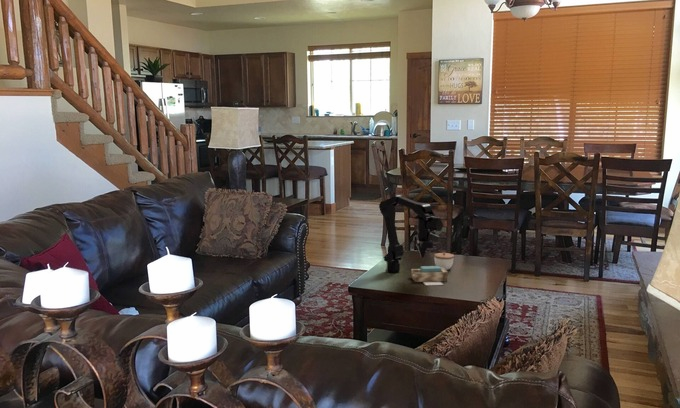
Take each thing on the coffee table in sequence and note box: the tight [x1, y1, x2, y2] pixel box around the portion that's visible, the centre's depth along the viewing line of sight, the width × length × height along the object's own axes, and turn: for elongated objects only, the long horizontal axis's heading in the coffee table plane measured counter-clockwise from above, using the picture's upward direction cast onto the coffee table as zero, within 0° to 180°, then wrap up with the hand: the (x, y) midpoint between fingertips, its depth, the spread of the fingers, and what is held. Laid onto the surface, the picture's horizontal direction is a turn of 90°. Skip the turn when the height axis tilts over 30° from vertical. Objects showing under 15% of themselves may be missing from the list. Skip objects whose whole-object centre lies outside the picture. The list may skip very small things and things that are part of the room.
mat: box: [422, 281, 444, 287], centre depth 287 cm, size 9×5×1 cm, turn 96°
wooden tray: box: [410, 267, 449, 283], centre depth 295 cm, size 17×8×5 cm, turn 96°
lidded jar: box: [433, 251, 455, 271], centre depth 316 cm, size 11×11×9 cm
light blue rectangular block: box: [419, 265, 441, 273], centre depth 295 cm, size 10×4×4 cm, turn 96°
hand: (422, 257), depth 293 cm, fingers closed
